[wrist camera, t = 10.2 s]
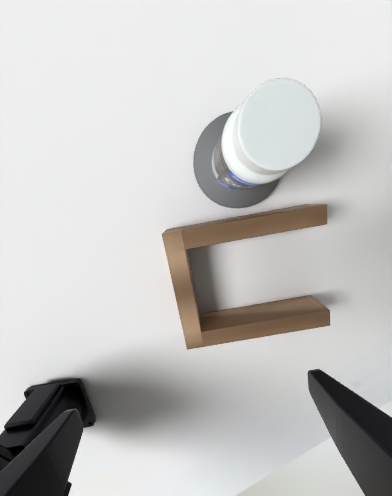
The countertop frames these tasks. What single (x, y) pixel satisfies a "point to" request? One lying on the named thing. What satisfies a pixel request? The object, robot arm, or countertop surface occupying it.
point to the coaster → (209, 180)
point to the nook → (249, 317)
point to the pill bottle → (267, 134)
